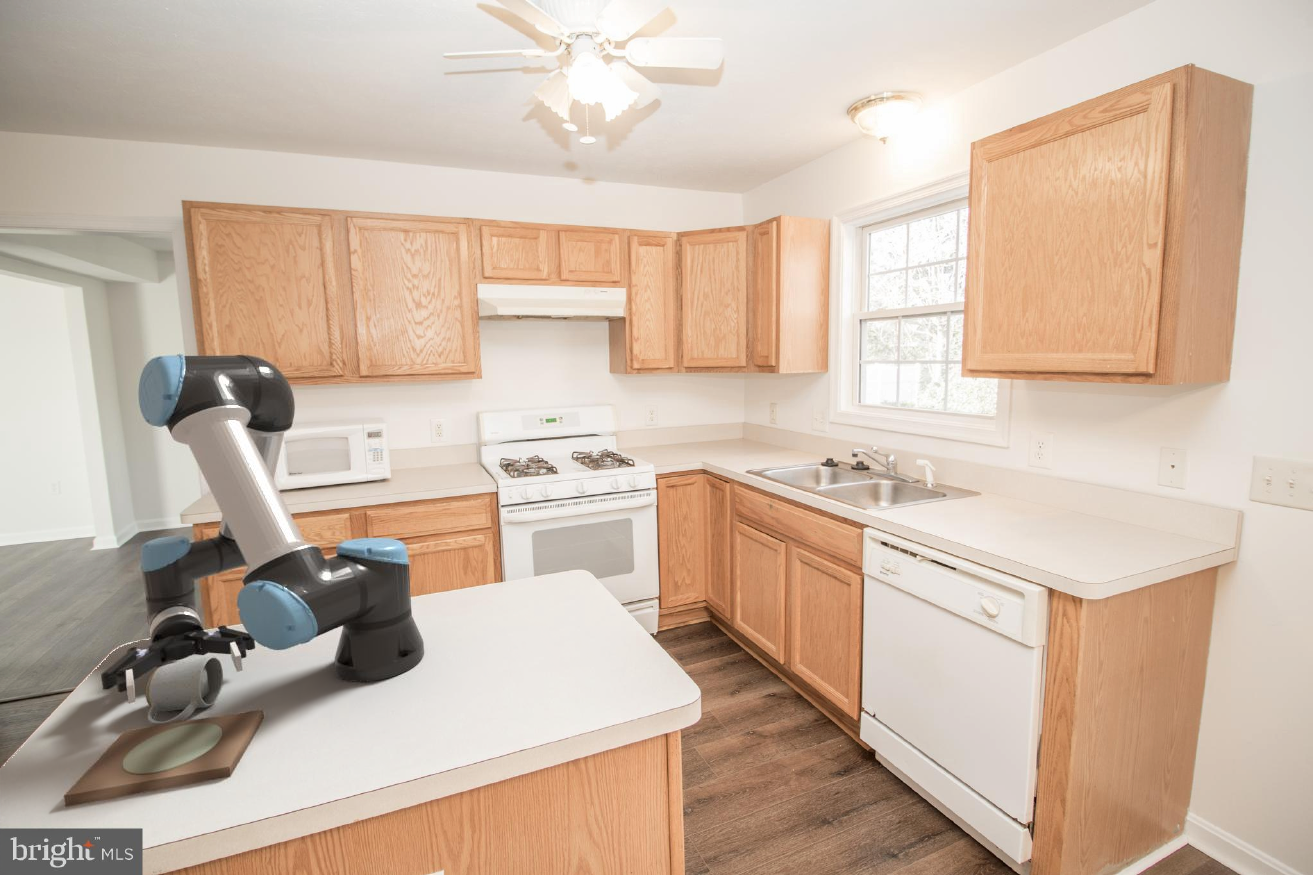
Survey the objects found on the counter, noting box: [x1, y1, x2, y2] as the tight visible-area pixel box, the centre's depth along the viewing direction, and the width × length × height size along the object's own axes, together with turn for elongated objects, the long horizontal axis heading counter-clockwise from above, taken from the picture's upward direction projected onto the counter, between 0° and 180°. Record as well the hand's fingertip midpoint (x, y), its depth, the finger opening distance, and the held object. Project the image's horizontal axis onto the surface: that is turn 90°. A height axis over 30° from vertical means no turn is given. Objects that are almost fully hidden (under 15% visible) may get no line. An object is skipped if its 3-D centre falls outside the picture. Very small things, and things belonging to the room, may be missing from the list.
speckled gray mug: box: [145, 655, 224, 727], centre depth 96 cm, size 11×8×8 cm
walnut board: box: [63, 709, 265, 807], centre depth 85 cm, size 18×14×2 cm
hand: (187, 678), depth 95 cm, fingers open, 13 cm apart
